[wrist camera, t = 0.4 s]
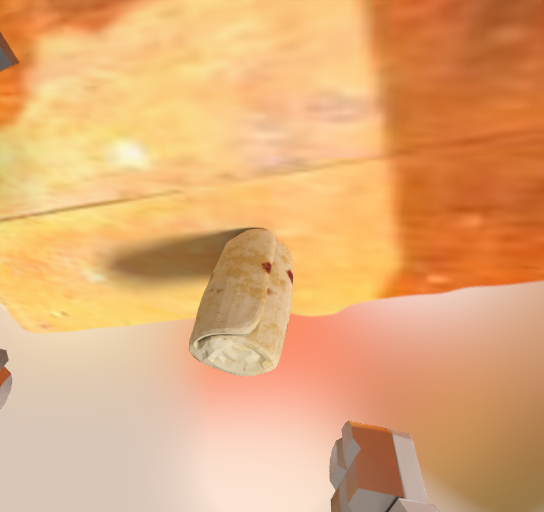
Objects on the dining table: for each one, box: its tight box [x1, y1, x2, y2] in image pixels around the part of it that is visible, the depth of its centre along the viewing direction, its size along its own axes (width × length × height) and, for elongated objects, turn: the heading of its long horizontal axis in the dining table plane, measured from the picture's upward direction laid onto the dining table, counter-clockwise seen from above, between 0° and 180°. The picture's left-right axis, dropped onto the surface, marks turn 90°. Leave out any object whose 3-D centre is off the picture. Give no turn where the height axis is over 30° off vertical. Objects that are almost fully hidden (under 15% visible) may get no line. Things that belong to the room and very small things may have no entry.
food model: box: [189, 228, 293, 376], centre depth 46 cm, size 10×7×20 cm
